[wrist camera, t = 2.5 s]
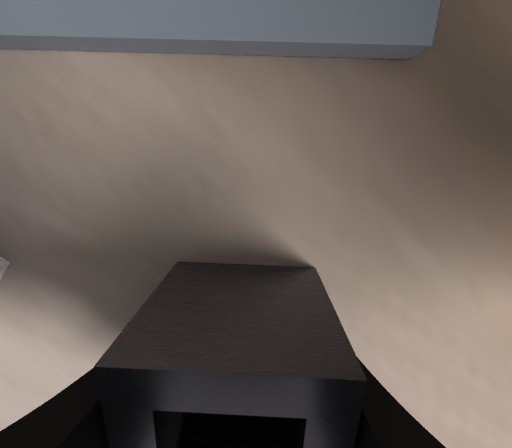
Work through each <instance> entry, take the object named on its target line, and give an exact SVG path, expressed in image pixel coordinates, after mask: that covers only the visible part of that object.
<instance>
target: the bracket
mask: <svg viewBox="0 0 512 448" xmlns="http://www.w3.org/2000/svg"><path fill="white" fill-rule="evenodd" d="M9 264H10V262H9V261H7V260H5V259H4V258H2V257H1V256H0V279H1V278H2V276H3V274H4V272H5V271H6V269H7V267H8V265H9Z"/></svg>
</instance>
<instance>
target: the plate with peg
mask: <svg viewBox="0 0 512 448" xmlns="http://www.w3.org/2000/svg"><path fill="white" fill-rule="evenodd" d="M440 4H441V0H0V49H22V50H62V51H101V52H140V53H179V54H218V55H257V56H296V57H335V58H374V59H412V58H414V57H415V56H417V55H418V54H420V53H421V52H423V51H424V50H426V49H428V48H429V47H431V46H432V44H433V39H434V34H435V29H436V24H437V19H438V14H439V9H440Z"/></svg>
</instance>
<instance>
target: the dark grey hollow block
mask: <svg viewBox="0 0 512 448" xmlns="http://www.w3.org/2000/svg"><path fill="white" fill-rule="evenodd" d="M94 371H95V376H96V381H97V386H98V392H99V397H100V402H101V407H102V413H103V418H104V423H105V428H106V434H107V439H108V444H109V448H354V444H355V440H356V435H357V430H358V425H359V420H360V415H361V410H362V405H363V400H364V395H365V390H366V385H367V379H366V376H365V374H364V372H363V370H362V368H361V366H360V363H359V361H358V359H357V357H356V355H355V353H354V350H353V348H352V346H351V344H350V342H349V340H348V337H347V335H346V333H345V331H344V329H343V327H342V324H341V322H340V320H339V318H338V316H337V314H336V311H335V309H334V307H333V305H332V303H331V301H330V298H329V296H328V294H327V292H326V290H325V288H324V285H323V283H322V281H321V279H320V277H319V275H318V272H317V270H316V268H311V267H287V266H263V265H239V264H215V263H191V262H177V263H176V265H175V266H174V267H173V268H172V270H171V271H170V272H169V273H168V275H167V276H166V277H165V278H164V280H163V281H162V282H161V283H160V285H159V286H158V287H157V288H156V290H155V291H154V292H153V293H152V295H151V296H150V297H149V298H148V300H147V301H146V302H145V303H144V305H143V306H142V307H141V308H140V310H139V311H138V312H137V313H136V315H135V316H134V317H133V318H132V320H131V321H130V322H129V323H128V325H127V326H126V327H125V328H124V330H123V331H122V332H121V333H120V335H119V336H118V337H117V338H116V340H115V341H114V342H113V343H112V345H111V346H110V347H109V348H108V350H107V351H106V352H105V353H104V355H103V356H102V357H101V358H100V360H99V361H98V362H97V363H96V365H95V366H94Z"/></svg>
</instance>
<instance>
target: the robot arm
mask: <svg viewBox="0 0 512 448" xmlns="http://www.w3.org/2000/svg"><path fill="white" fill-rule="evenodd" d="M356 357H357V356H356ZM357 359H358V358H357ZM358 361H359V363H360V366H361V368H362V370H363V372H364V374H365V376H366V379H367V385H366V390H365V395H364V400H363V405H362V410H361V415H360V420H359V425H358V430H357V435H356V440H355V444H354V448H446V447H445V446H444V445H442V444H441V443H440V442H439V441H438V440H437V439H436V438H435V437H434V436H433V435H432V434H430V433H429V432H428V431H427V430H426V429H425V428H424V427H423V426H422V425H421V424H420V423H419V422H418V421H417V420H415V419H414V418H413V417H412V416H411V415H410V414H409V413H408V412H407V411H406V410H405V409H404V408H403V407H402V406H401V405H400V404H399V403H398V402H397V401H396V400H395V398H394V397H393V396H392V395H391V394H390V393H389V392H388V391H387V390H386V389H385V388H384V387H383V386H382V385H381V384H380V382H379V381H378V380H377V379H376V378H375V377H374V376H373V375H372V374H371V373H370V371H369V370H368V369H367V368H366V367H365V366H364V365H363V363H362V362H361V361H360V360H359V359H358ZM0 448H109V444H108V439H107V434H106V428H105V423H104V418H103V413H102V407H101V402H100V397H99V392H98V386H97V381H96V376H95V371H94V368H93V369H91V370H90V371H89V372H87V373H86V374H85V375H83V376H82V377H80V378H79V379H78V380H76V381H75V382H74V383H72V384H71V385H70V386H68V387H67V388H66V389H64V390H63V391H61V392H60V393H58V394H57V395H56V396H54V397H53V398H51V399H50V400H48V401H47V402H45V403H44V404H42V405H41V406H39V407H38V408H36V409H35V410H33V411H32V412H30V413H29V414H27V415H25V416H24V417H22V418H21V419H19V420H18V421H16V422H15V423H13V424H11V425H10V426H8V427H7V428H5V429H3V430H2V431H0Z"/></svg>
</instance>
